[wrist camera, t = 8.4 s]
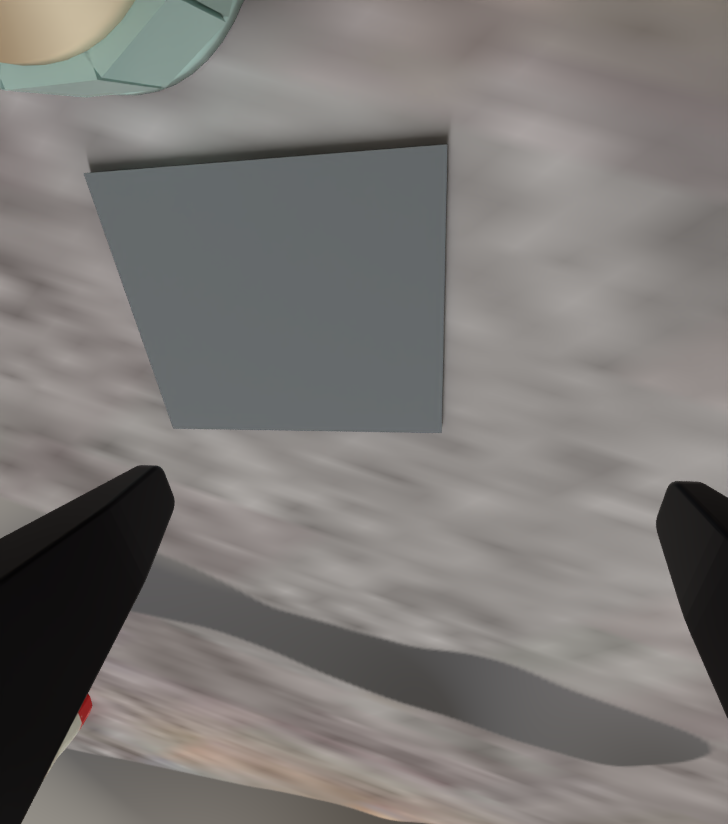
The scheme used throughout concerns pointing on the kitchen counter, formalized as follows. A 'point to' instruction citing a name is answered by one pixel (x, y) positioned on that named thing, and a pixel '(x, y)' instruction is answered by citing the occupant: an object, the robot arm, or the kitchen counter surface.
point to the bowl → (135, 52)
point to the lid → (55, 28)
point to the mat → (288, 287)
